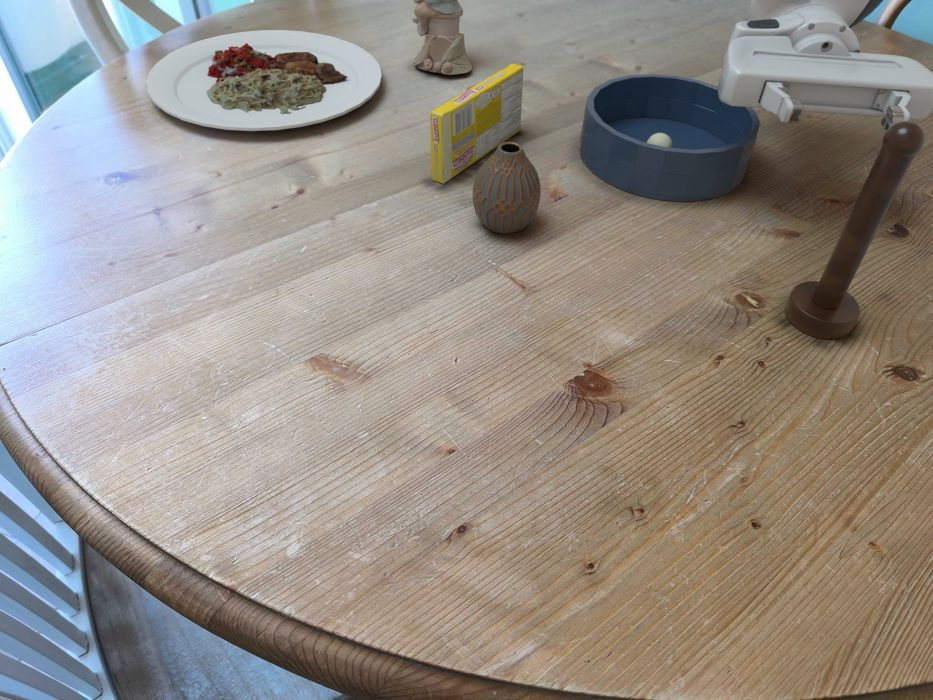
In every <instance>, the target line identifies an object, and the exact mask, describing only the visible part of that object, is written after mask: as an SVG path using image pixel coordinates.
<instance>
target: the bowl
mask: <svg viewBox="0 0 933 700" xmlns="http://www.w3.org/2000/svg"><path fill="white" fill-rule="evenodd" d="M761 125H762V123H761V121H760V118H759V116H758V113H757V111H756V110H755V108H752V107H738V106H730V105H727V104H725V103H723V102H721V101H720V99H719V96H718V85H713V84H711V83H708V82H705V81H702V80H699V79H693V78H689V77H684V76H680V75H668V74H658V73H657V74H656V73H646V74H629V75H624V76H620V77H615V78H612V79H611V78H610V79H608V80H606V81H603V82H602V83H600V84H599V85H597V86H595V87H593V88H592V90H591V92H589V94H588V96H587V97H586V102H585V108H584V113H583V120H582V126H581V133H580V141H579V142H580V143H579V144H580V145H579V154H580V157H581V160H582V162H583V163H584V165H585V166H586V168H587V169H588V170H589V171H590V172H591V173H592V174H594V175H595V176H596V177H597V178H599V179H600V180H602V181H603V182H605V183H607V184H608V185H610V186H612V187H614V188H617V189H619V190H621V191H624V192H626V193H630V194H633V195H635V196H639V197H644V198H647V199H651V200H652V199H653V200H658V201H667V202H699V201H705V200H711V199H715V198H718V197H721V196H724V195H726V194H728V193H730V192H731V191H733V190H735V189H736V188H737V187H738V186H739V185H740V183H741V182H742V181H743V179H744V177H745V174H746V171H747V168H748V164H749V162H750V158H751V156H752V152H753V149H754V147H755V143H756V141H757V138H758V134H759V133H760V128H761ZM656 133H664V134H666V135H668V136H669V137H670V139H671V141H672V148H667V147H662V146H658V145H654V144H649V143H647V141H648V139H649V138H650V137H651V136H652V135H653V134H656Z"/></svg>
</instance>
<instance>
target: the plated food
mask: <svg viewBox="0 0 933 700" xmlns="http://www.w3.org/2000/svg"><path fill="white" fill-rule="evenodd" d="M382 79H383V75H382V69H381V65H380V64H379V62H378V61H377V59H376V58H375V57H374V56H373V55H372V54H370V52H368V51H367V50H365V49H364V48H362V47H361V46H358V45H356V44H355V43H353V42H351V41H348V40H344V39H341V38H340V37H335V36H331V35H327V34H322V33H317V32H309V31H303V30H302V31H301V30H287V29H286V30H285V29H266V30H265V29H262V30H259V29H258V30H249V31H240V32H233V33H226V34H221V35H216V36H212V37H208V38H205V39H201V40H197V41H195V42H192V43H188V44H186V45H184V46H182V47H179V48H178V49H176V50H174V51H172V52H170V53H168V54H166V55H165V56H164V57H163V58H161V59H159V61H157V62H156V63H155V64H154V65H153V66H152V68H150V70H149V72H148V75H147V77H146V80H145V82H146V83H145V84H146V90H147V95H148V96H149V98H150V99H151V101H152V102H153V103H154V105H155V106H157V107H158V108H159V109H161V110H162V111H163V112H165V114H168V115H170V116H172V117H174V118H177V119H179V120H181V121H184V122H187V123H191V124H195V125H198V126H202V127H207V128H213V129H219V130H227V131H243V132H259V131H260V132H261V131H281V130H287V129H294V128H302V127H306V126H307V127H308V126H311V125H315V124H320V123H323V122H327V121H330V120H332V119H335V118H338V117H342V116H344V115H346V114H348V113H350V112H352V111H354V110H355V109H358V108H359V107H361V106H362V105H364V104H365V103H366V102H368V101H369V100H371V99H372V98H373V96H374V95H375V94H376V93H377V91H378V90H379V89H380V86H381V82H382Z"/></svg>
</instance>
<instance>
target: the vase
mask: <svg viewBox="0 0 933 700" xmlns="http://www.w3.org/2000/svg"><path fill="white" fill-rule="evenodd" d="M539 177H540V176H539V174H538V171H537V169H536V167H535V166H534V165H533V164H532V162H531V160H530V159H529V158H528V157H527V155H526V153H525V151H524V147H523V146H522V145H521V144H520V143H518V142H515V141H504V142H503V143H501V144H500V145H499V146H497V147H496V150H495V151H494V153H492V155H491V156H489V157H488V158H487V159H486V160H485V162H483V164H482V165H481V166H480V168H479V169H478V171H477V173H476V176H475V178H474V181H473V186H472V205H473V209H474V212H475V215H476V217H477V218H478V220H479V221H480V223H482V225H483V226H485V227H486V228H487V229H489V230H490V231H492V232H494V233H497V234H503V235H509V234H515V233H517V232H519V231H521V230H522V229H524V228H526V227H527V226H528V225H529V224H530V223H531V222H532V220H533V219H534V218H535V216H536V214H537V212H538V209H539V206H540V201H541V194H542V191H541V189H542V188H541V180H540V178H539Z"/></svg>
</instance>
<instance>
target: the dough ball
mask: <svg viewBox="0 0 933 700" xmlns="http://www.w3.org/2000/svg"><path fill="white" fill-rule="evenodd" d="M647 143H649V144H654V145H658V146H662V147H667V148H672V141H671V139H670V137H669V136H668V135H666V134H664V133H656V134H653V135H652V136H651V137H650V138H649V139H648V141H647Z"/></svg>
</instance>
